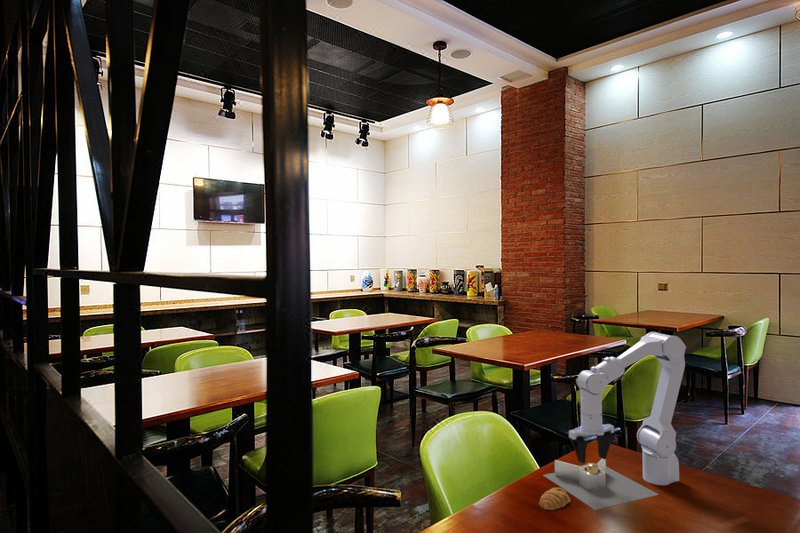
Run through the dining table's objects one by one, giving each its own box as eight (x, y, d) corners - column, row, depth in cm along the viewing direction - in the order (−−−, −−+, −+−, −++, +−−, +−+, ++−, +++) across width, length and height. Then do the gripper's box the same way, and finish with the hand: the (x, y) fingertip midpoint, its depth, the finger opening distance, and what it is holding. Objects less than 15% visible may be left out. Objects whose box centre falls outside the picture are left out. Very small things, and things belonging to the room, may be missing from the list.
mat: (600, 466, 152) (600, 463, 152) (658, 498, 131) (658, 494, 131) (542, 478, 144) (542, 475, 144) (595, 513, 124) (595, 509, 124)
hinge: (595, 466, 149) (594, 452, 149) (628, 484, 137) (627, 469, 137) (554, 474, 144) (553, 460, 144) (584, 494, 132) (584, 478, 132)
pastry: (555, 517, 122) (555, 503, 122) (532, 508, 127) (531, 494, 127) (572, 504, 129) (572, 490, 129) (549, 496, 134) (549, 482, 134)
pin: (592, 482, 139) (592, 462, 139) (600, 486, 136) (600, 466, 136) (584, 484, 138) (584, 463, 138) (592, 488, 135) (592, 468, 135)
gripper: (580, 420, 131) (581, 469, 131) (621, 414, 135) (622, 461, 136) (563, 413, 137) (564, 459, 137) (603, 407, 142) (604, 452, 142)
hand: (592, 460), depth 137 cm, fingers open, 7 cm apart
